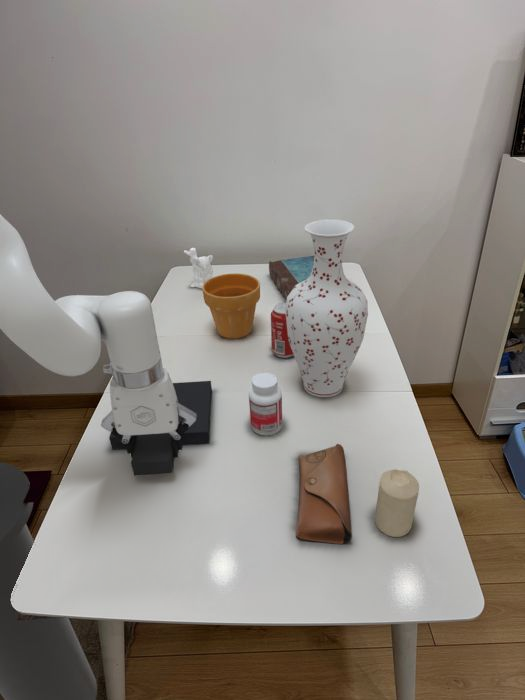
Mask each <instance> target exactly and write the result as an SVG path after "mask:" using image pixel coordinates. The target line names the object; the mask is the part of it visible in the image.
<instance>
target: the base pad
mask: <svg viewBox="0 0 525 700" xmlns="http://www.w3.org/2000/svg"><path fill="white" fill-rule="evenodd" d="M172 383H173V386H174V389H175V392H176V396H177V400H178V403H179V404H181V405H183V406H184V407H186V408H188V409H189V410H191V411H193V412H195V413H196V414H197V416H196V421H195V422H194V423H193V424H192V425H191V426H190V427H189V428H188V430H187V431H186V432H185V433H184V434H183V435H181V439H182V446H193V445H195V446H196V445H209V444H210V435H211V417H212V398H213V390H212V381H211V380H202V381H200V380H199V381H185V382H184V381H183V382H172ZM183 419H185V418H183V417H181V416H179V415H178V422H179V423H180V422H181V421H182V420H183ZM136 437H137V435H136ZM108 439H109V443H110V446H111V450H113V451H114V450H115V451H116V450H127V448H126V444H124V443H123V442H122V439H120V438H118V437H116V436H114V435H113V434H112V433H111V432H110V433H109V437H108Z"/></svg>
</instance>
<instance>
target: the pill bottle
mask: <svg viewBox="0 0 525 700" xmlns="http://www.w3.org/2000/svg"><path fill="white" fill-rule="evenodd" d="M282 393H283V392H282V389H281V388H280V386H279V384H278V377H277V376H276V375H275V374H273V373H271V372H260V373H257V374H255V375H254V376H253V377H252V379H251V387H250V389H249V391H248V403H249V404H248V405H249V418H250V419H249V421H250V427H251V430H252V431H253V432H254V433H256V434H258V435H260V436H271V435H272V436H273V435H275V434H277V433H278V432H279V431H281V429H282V428H283V394H282Z"/></svg>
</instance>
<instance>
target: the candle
mask: <svg viewBox="0 0 525 700" xmlns="http://www.w3.org/2000/svg"><path fill="white" fill-rule="evenodd" d="M419 491H420V483H419V481H418V479H417V478H416V477H415V476H414V475H413V474H411V473H410V472H409V471H408V470H404V469H397V468H396V469H395V468H394V469H389V470H387V471H384V472H383V473H382V475H381V476H380V479H379V483H378V492H377V500H376V506H375V513H374V522H375V525H376V527H377V529H378V530H379V531H380V532H381V533H383V535H386V536H389V537H392V538H400V537H404V536H406V535H407V534H409V533H410V531H411V529H412V525H413V522H414V517H415V513H416V512H415V511H416V506H417V501H418V496H419Z"/></svg>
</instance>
